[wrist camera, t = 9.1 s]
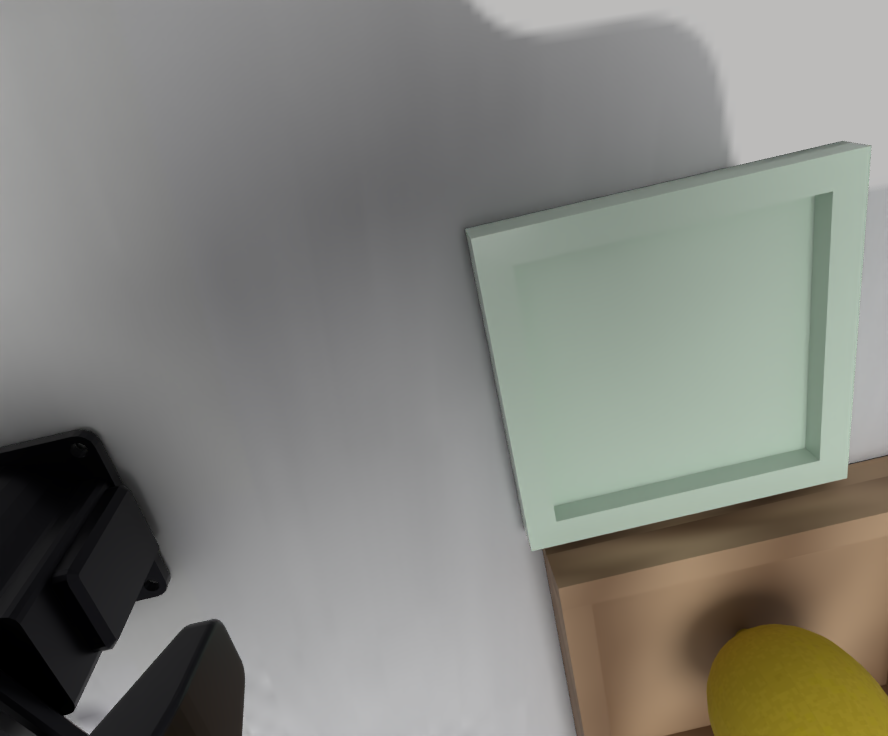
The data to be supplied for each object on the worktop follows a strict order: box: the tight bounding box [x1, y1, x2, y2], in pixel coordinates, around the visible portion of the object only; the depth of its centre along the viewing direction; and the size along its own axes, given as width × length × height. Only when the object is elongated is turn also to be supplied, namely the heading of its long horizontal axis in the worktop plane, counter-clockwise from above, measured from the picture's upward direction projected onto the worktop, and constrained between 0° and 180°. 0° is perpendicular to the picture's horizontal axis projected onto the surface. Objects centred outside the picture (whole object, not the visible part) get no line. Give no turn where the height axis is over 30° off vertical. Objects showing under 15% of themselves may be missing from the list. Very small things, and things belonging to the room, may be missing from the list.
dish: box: [465, 141, 871, 551], centre depth 20 cm, size 11×11×1 cm
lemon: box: [706, 624, 888, 736], centre depth 21 cm, size 6×6×8 cm
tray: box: [542, 456, 888, 736], centre depth 25 cm, size 14×12×3 cm
